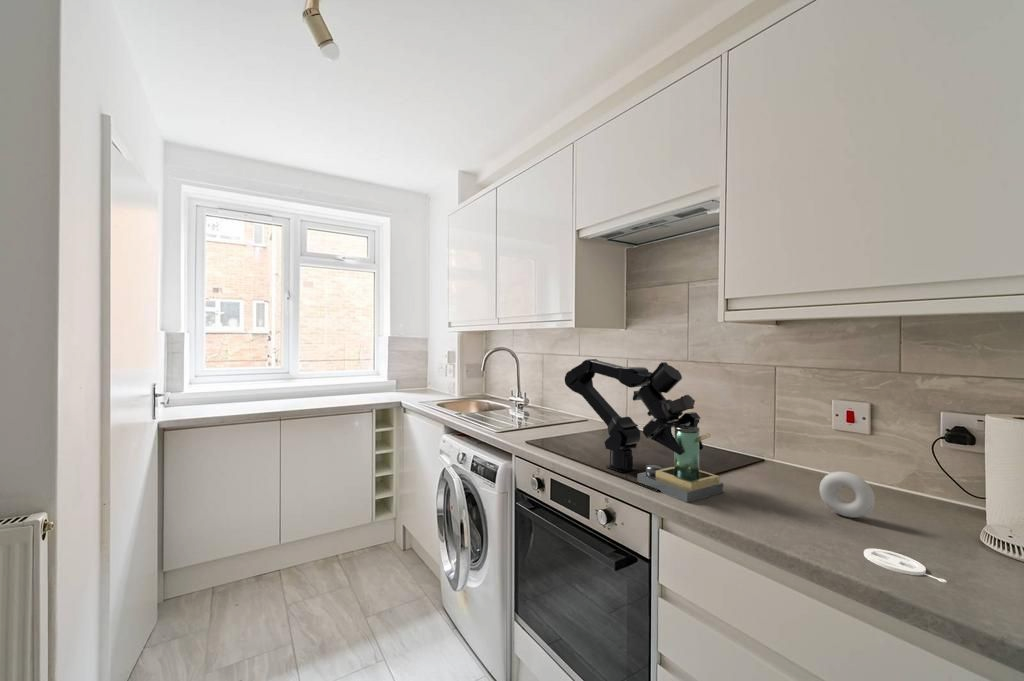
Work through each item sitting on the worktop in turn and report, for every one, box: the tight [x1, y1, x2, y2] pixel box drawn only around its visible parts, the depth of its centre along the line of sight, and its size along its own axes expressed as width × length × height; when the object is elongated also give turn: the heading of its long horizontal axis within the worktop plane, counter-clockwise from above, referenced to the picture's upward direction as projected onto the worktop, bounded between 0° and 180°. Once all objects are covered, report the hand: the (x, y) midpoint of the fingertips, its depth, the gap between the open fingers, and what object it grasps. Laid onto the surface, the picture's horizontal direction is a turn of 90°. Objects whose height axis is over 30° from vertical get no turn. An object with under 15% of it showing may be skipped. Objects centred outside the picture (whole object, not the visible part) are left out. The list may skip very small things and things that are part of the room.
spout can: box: [673, 425, 711, 481], centre depth 109 cm, size 10×6×14 cm, turn 35°
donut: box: [818, 470, 876, 519], centre depth 94 cm, size 10×4×10 cm, turn 39°
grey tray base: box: [636, 464, 724, 503], centre depth 112 cm, size 16×14×4 cm
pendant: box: [863, 548, 948, 584], centre depth 74 cm, size 7×11×1 cm, turn 31°
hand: (692, 451), depth 109 cm, fingers open, 9 cm apart
